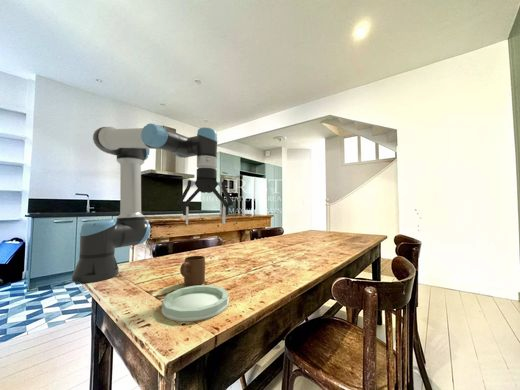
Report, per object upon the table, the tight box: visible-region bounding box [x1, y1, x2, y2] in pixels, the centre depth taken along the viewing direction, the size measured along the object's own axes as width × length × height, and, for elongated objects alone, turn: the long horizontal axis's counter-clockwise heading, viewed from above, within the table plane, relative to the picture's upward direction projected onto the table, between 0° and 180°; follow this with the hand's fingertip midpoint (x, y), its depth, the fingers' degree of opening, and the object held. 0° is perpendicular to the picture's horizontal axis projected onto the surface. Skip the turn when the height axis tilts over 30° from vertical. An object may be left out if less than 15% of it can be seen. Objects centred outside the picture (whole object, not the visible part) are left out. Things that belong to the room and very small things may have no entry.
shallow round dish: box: [161, 284, 230, 323], centre depth 63 cm, size 19×19×2 cm
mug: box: [179, 255, 206, 287], centre depth 79 cm, size 12×8×9 cm, turn 164°
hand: (205, 224), depth 81 cm, fingers open, 13 cm apart
